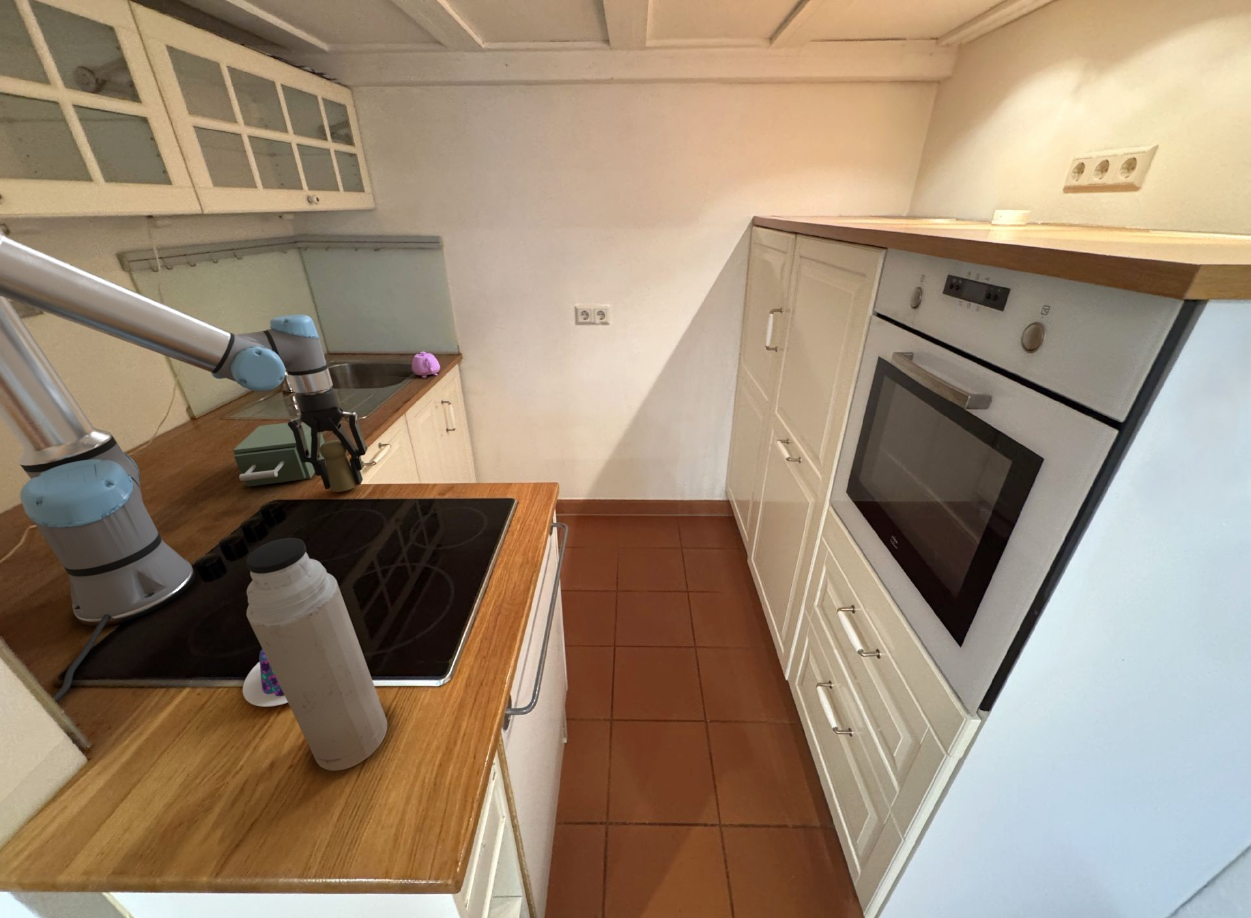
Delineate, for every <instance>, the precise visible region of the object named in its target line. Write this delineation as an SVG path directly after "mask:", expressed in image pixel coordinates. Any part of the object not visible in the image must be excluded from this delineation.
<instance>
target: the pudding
mask: <svg viewBox="0 0 1251 918" xmlns="http://www.w3.org/2000/svg"><path fill="white" fill-rule="evenodd" d="M258 659H259V662H257V663H256V664H255V666H253V667H252V669H251V670H250V671H249V673H248V674H247V676H246V677H245V679H244V682H243V685H242V694H243V697H244V699H245V701H247V702H248V703H249V704H250V705H254V706H257V707H275V706H276V707H277V706H281V705H284V704H287V703H288V701H287V699H286V697H285V695H284V693H283V691H282V689H281V687H280V685H279V683H278V681H277V678H276V676H275V674H274V672H273V670H272V668H271V666H270V664H269V662H268V660H267V657H266V655H265V653H264V651H263V649H262V648H261V650H260V652H259V657H258ZM288 704H289V703H288Z"/></svg>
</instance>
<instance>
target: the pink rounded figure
mask: <svg viewBox="0 0 1251 918" xmlns="http://www.w3.org/2000/svg"><path fill="white" fill-rule="evenodd" d="M440 369H441V366H440V363H439V360H438V359H437V358H436V357H435V356H434V354H433V353H430V352H426V351H420V352H419V354H418V353H416V354H415V355H414V356H413V359H412V362H411V370H412V372H413V374H415V375H416V376H421V378H422V379H423V378H427V376H428V375H432V376H438V372H439V371H440Z"/></svg>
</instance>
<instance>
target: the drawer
mask: <svg viewBox="0 0 1251 918" xmlns="http://www.w3.org/2000/svg"><path fill="white" fill-rule="evenodd" d="M234 461H235V463H236V465H237V467H238V469H239V472H240V474H239V475H238V476H239V481H240V482H244V484H245V486H246V487H248V486H249V487H252V486H251V485H257V486H260V485H259V484H265V485H268V484H267V483H272V484H275V483H274V482H280V483H283V482H282V481H287V482H291V481H290V480H295V481H298V480H297V479H303V480H306V479H305V477H306V475H305V472H304V469H303V466H302V463H301V461H300V458H299V455H298V452H297V449H296V447H295V446H293V447H284V448H276V449H267V450H259V451H250V452H243V454H236V455H235V454H234Z"/></svg>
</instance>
